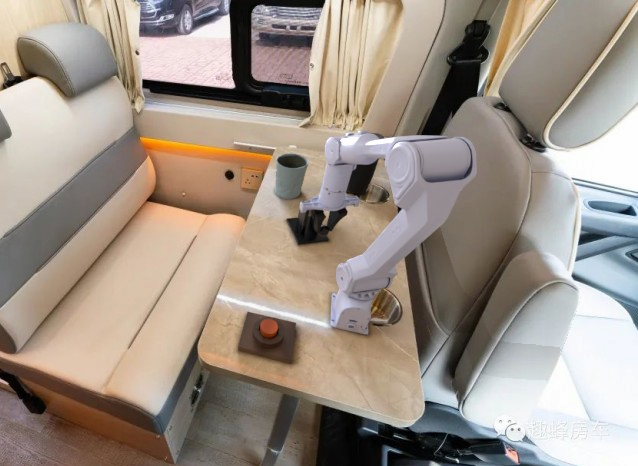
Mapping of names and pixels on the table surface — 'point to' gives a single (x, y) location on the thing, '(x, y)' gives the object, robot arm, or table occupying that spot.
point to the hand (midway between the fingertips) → (323, 229)
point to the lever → (324, 228)
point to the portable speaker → (362, 176)
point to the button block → (263, 346)
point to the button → (268, 328)
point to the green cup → (290, 175)
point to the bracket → (304, 229)
